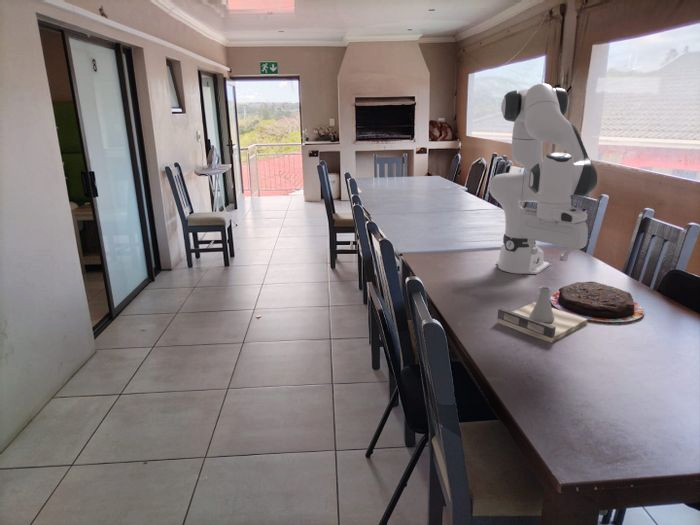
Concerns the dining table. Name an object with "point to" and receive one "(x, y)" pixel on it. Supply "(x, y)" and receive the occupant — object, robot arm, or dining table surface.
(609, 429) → the dining table surface
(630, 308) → the chocolate cake
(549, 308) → the flask
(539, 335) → the shelf board
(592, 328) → the dining table surface
